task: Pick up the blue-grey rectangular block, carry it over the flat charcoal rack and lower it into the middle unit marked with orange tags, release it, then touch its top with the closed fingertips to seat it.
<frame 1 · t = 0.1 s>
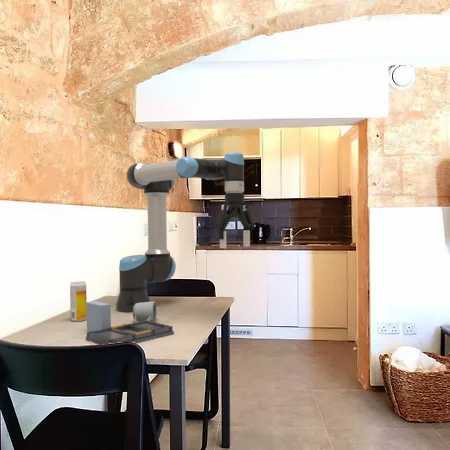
hand: (235, 247, 179), 28 cm above the table, tool pointing down, fingers open, 13 cm apart
rack: (130, 336, 154), on the table
beer can: (78, 320, 182), on the table
blue-grey rectangular block: (98, 331, 162), on the table
ceramic mug: (145, 322, 176), on the table
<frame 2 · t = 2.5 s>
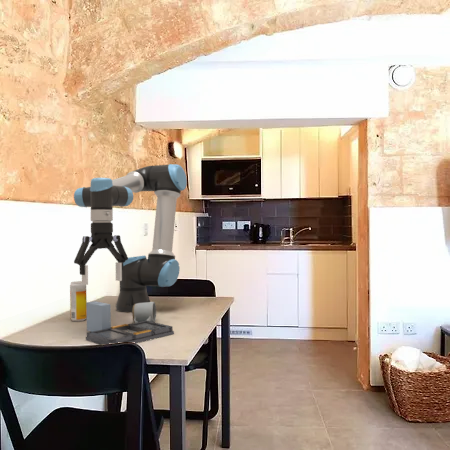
hand: (102, 282, 162), 17 cm above the table, tool pointing down, fingers open, 13 cm apart
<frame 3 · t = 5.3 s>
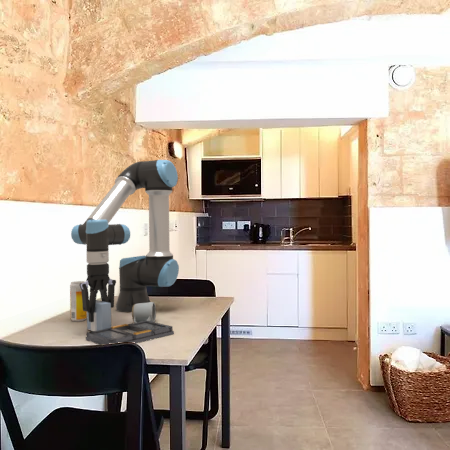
hand: (99, 329, 162), 1 cm above the table, tool pointing down, fingers closed on blue-grey rectangular block, 3 cm apart
blue-grey rectangular block: (99, 330, 162), on the table, touching gripper
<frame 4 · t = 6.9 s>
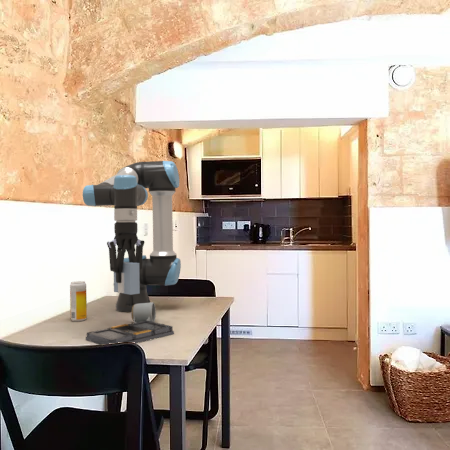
hand: (126, 291, 154), 15 cm above the table, tool pointing down, fingers closed on blue-grey rectangular block, 3 cm apart
blue-grey rectangular block: (126, 292, 154), point 15 cm above the table, touching gripper
when the fingers open (3 cm above the table, at t = 8.8 s): blue-grey rectangular block drops 2 cm, resting on rack.
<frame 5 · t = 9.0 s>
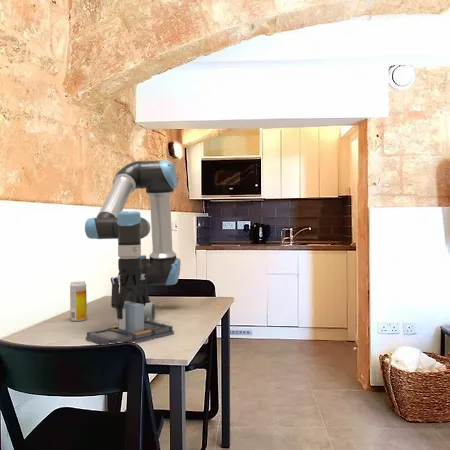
hand: (130, 326, 154), 3 cm above the table, tool pointing down, fingers open, 6 cm apart
blue-grey rectangular block: (130, 333, 154), point 1 cm above the table, touching rack
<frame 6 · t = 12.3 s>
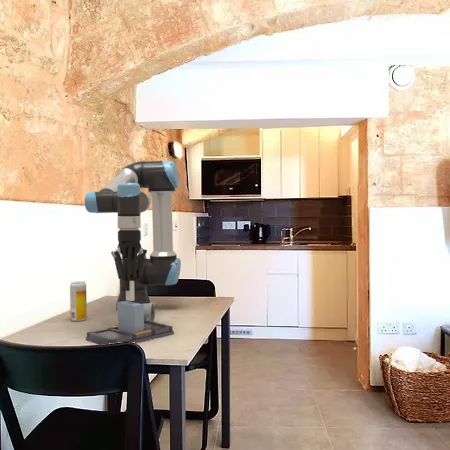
hand: (130, 300, 154), 12 cm above the table, tool pointing down, fingers closed
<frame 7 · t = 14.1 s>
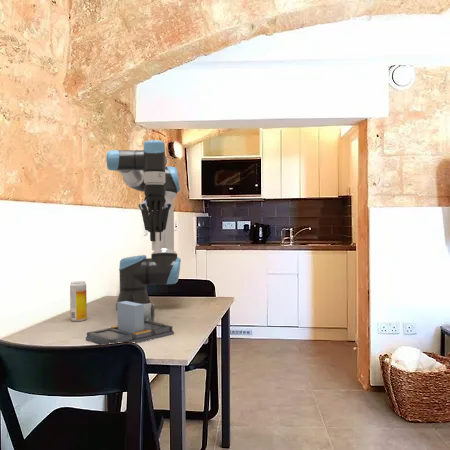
hand: (155, 250, 165), 28 cm above the table, tool pointing down, fingers closed
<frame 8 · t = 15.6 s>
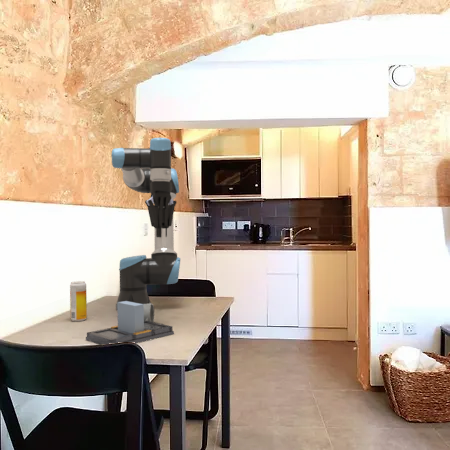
hand: (161, 246, 167), 29 cm above the table, tool pointing down, fingers closed
at the end: blue-grey rectangular block 0.1 cm off-centre on the rack, point 1.2 cm above the rack's base; blue-grey rectangular block tilted 0°; the gripper is holding nothing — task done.
